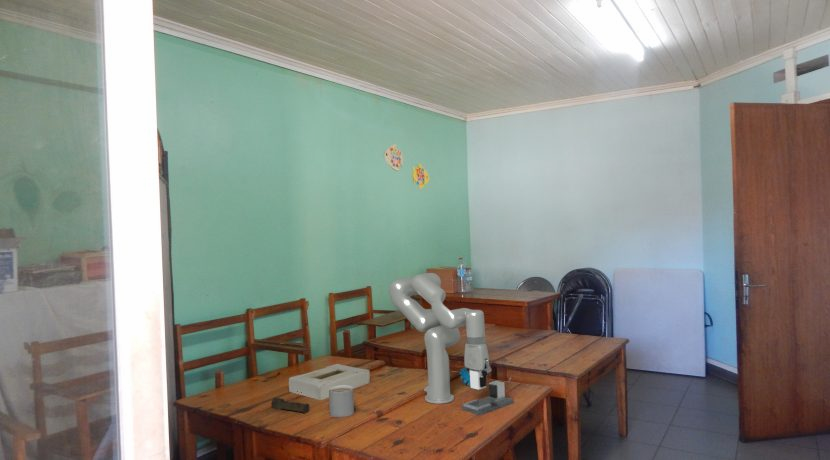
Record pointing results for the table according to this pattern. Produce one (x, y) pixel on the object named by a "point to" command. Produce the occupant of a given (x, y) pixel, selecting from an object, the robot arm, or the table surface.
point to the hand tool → (289, 405)
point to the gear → (465, 376)
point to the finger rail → (489, 400)
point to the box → (328, 380)
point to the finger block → (475, 379)
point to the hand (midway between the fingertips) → (478, 384)
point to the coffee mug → (341, 401)
